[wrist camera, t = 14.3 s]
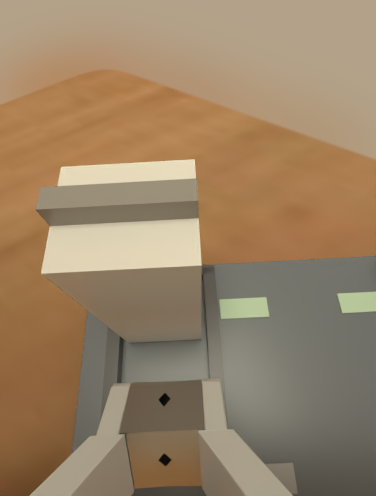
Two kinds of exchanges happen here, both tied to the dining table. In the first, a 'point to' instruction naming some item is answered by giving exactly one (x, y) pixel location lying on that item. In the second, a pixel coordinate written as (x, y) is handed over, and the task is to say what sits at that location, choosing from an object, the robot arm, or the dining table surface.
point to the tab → (128, 246)
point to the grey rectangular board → (267, 369)
